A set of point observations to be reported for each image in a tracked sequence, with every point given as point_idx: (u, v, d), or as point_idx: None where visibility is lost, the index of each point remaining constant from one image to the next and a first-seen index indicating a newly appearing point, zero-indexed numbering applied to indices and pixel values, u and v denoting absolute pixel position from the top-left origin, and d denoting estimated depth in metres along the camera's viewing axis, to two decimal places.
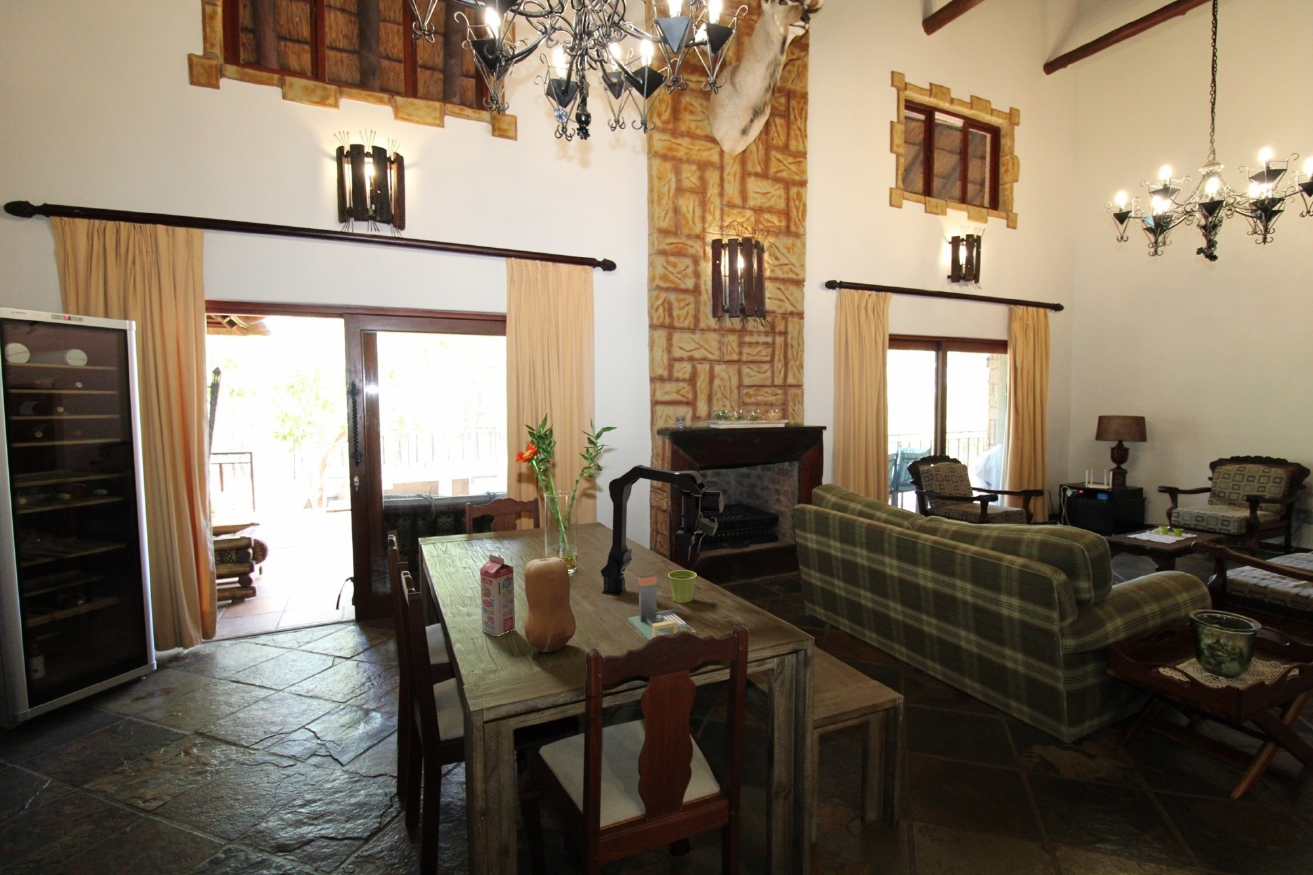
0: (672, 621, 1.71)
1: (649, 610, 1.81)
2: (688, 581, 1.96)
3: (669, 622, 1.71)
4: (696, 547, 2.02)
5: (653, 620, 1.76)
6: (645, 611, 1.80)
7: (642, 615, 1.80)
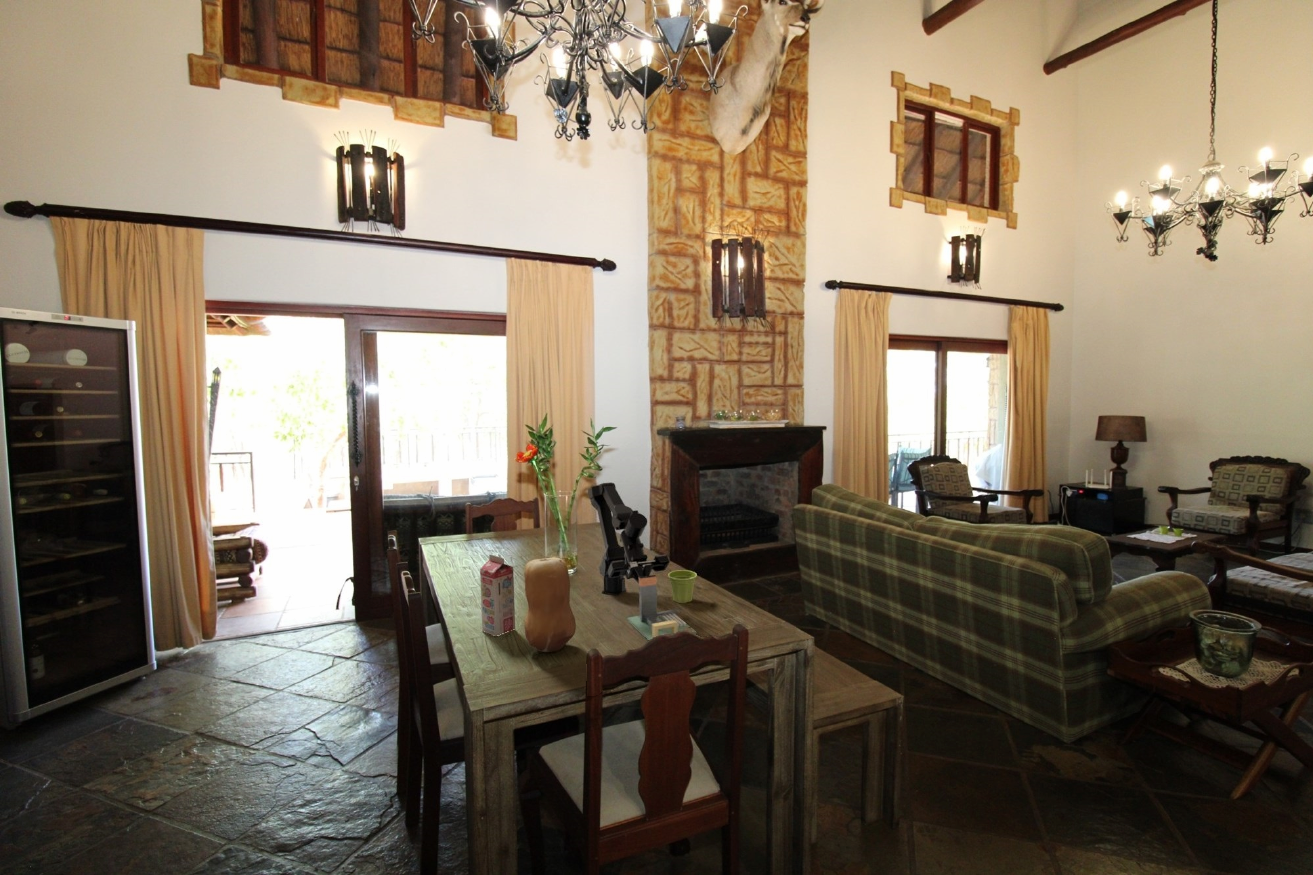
0: (672, 621, 1.71)
1: (650, 610, 1.80)
2: (688, 581, 1.96)
3: (669, 622, 1.71)
4: None
5: (654, 621, 1.76)
6: (645, 611, 1.80)
7: (642, 615, 1.80)
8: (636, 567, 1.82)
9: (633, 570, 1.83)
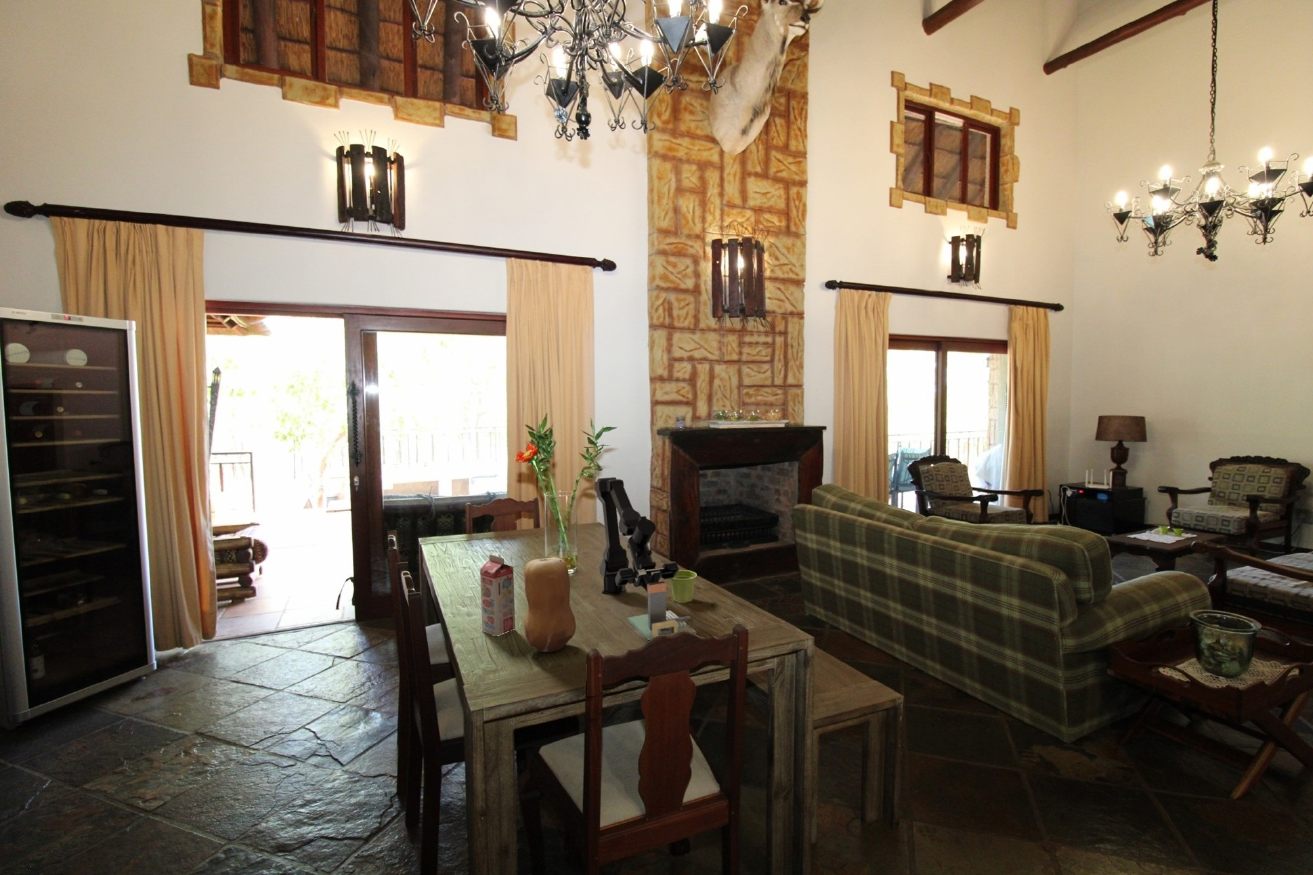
0: (672, 621, 1.71)
1: (659, 618, 1.74)
2: (688, 581, 1.96)
3: (669, 622, 1.71)
4: None
5: (663, 629, 1.70)
6: (654, 619, 1.74)
7: (651, 623, 1.74)
8: (644, 575, 1.77)
9: (641, 578, 1.77)
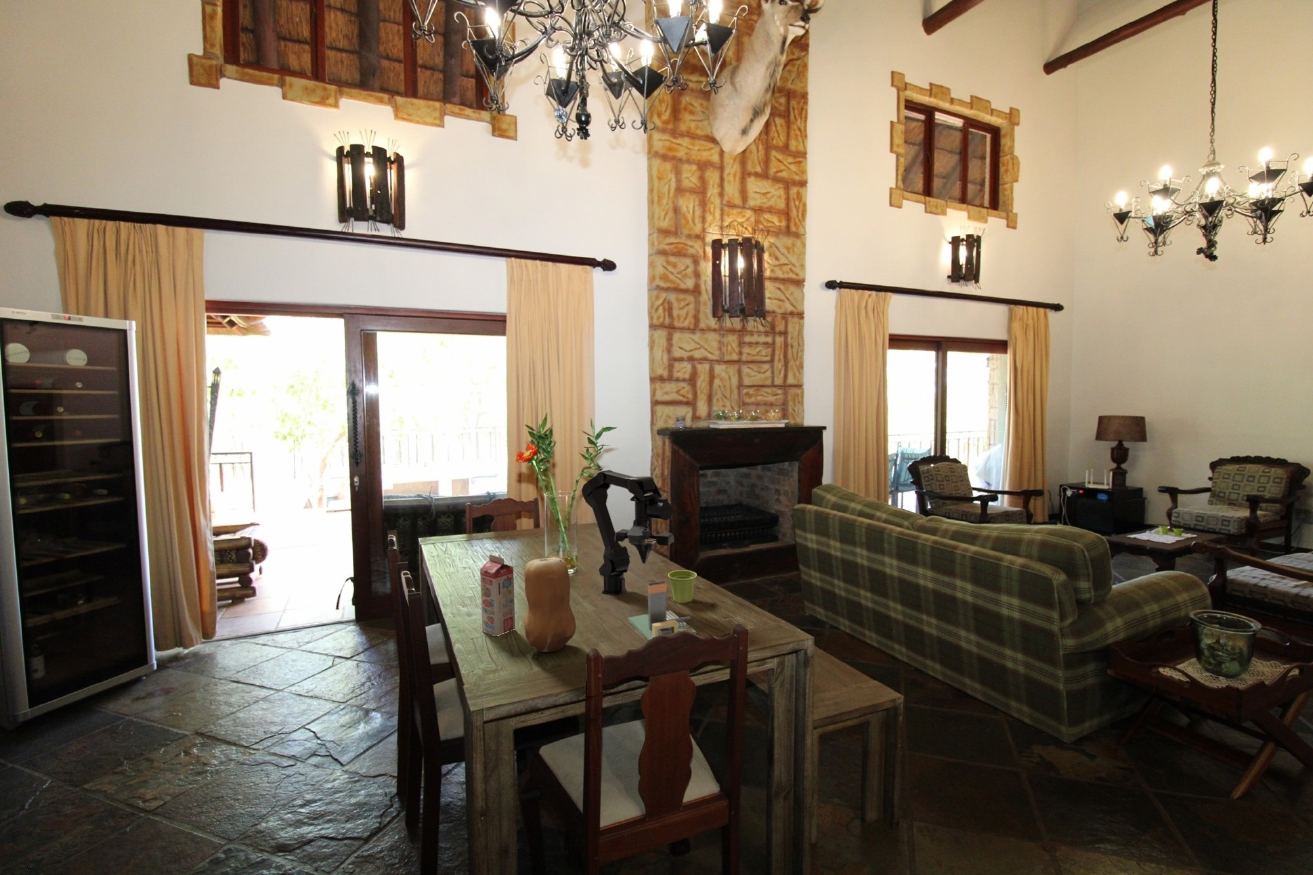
0: (672, 621, 1.71)
1: (659, 618, 1.74)
2: (688, 581, 1.96)
3: (669, 622, 1.71)
4: None
5: (663, 629, 1.70)
6: (655, 619, 1.74)
7: None
8: None
9: None
